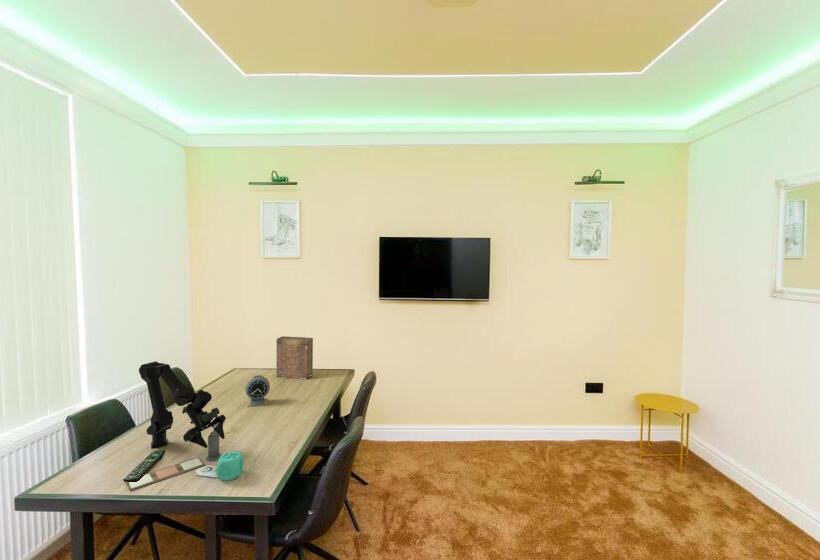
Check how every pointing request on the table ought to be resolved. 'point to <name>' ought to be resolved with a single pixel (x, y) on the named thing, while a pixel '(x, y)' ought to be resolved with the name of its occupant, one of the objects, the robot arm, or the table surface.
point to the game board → (166, 473)
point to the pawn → (213, 446)
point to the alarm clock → (257, 390)
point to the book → (294, 357)
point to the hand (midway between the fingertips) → (215, 442)
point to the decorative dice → (230, 466)
